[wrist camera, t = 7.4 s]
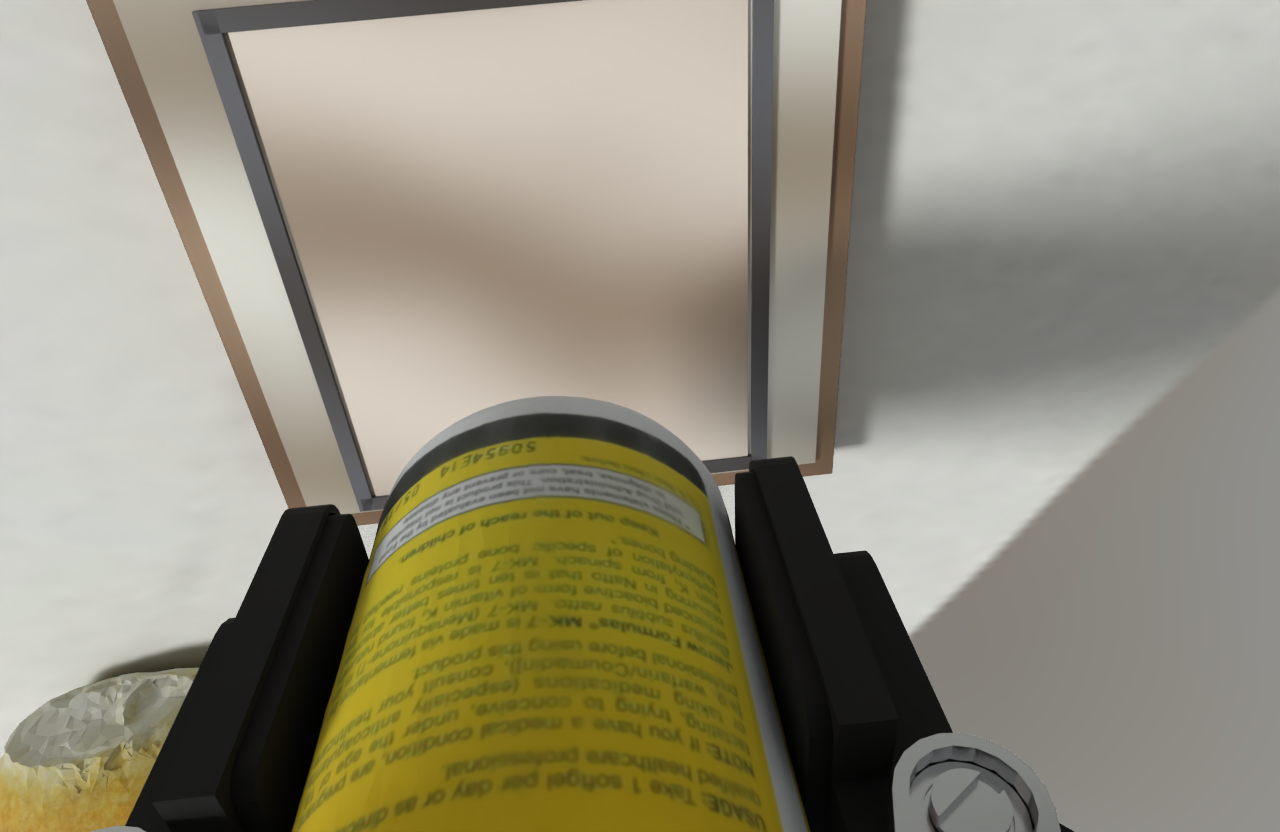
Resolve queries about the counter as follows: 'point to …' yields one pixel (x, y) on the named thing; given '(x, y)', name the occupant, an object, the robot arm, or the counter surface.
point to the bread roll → (88, 753)
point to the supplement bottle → (553, 643)
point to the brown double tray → (507, 214)
